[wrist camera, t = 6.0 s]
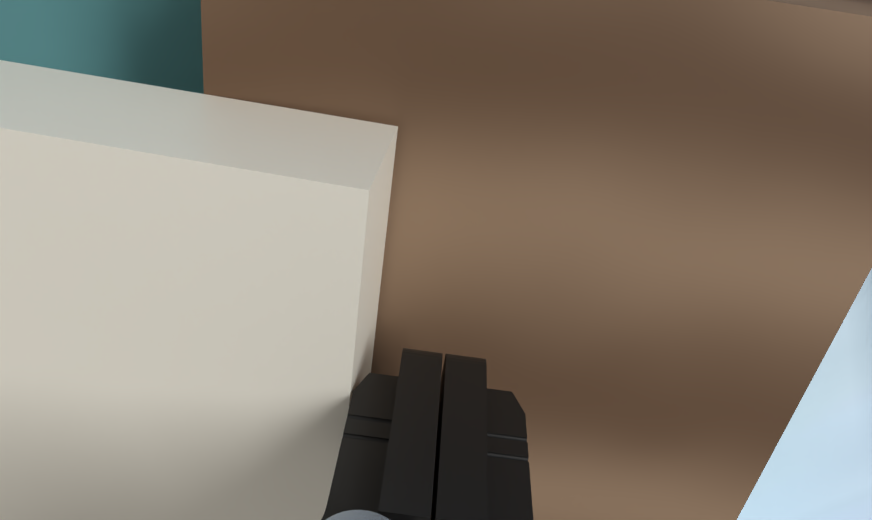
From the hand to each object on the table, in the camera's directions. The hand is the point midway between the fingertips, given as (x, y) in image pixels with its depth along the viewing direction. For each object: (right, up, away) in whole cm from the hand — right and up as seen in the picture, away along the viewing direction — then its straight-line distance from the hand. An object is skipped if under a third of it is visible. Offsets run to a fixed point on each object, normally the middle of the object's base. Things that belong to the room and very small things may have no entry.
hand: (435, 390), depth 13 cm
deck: (+2, +2, +5) cm, 6 cm away
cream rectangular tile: (-5, +1, +2) cm, 5 cm away
